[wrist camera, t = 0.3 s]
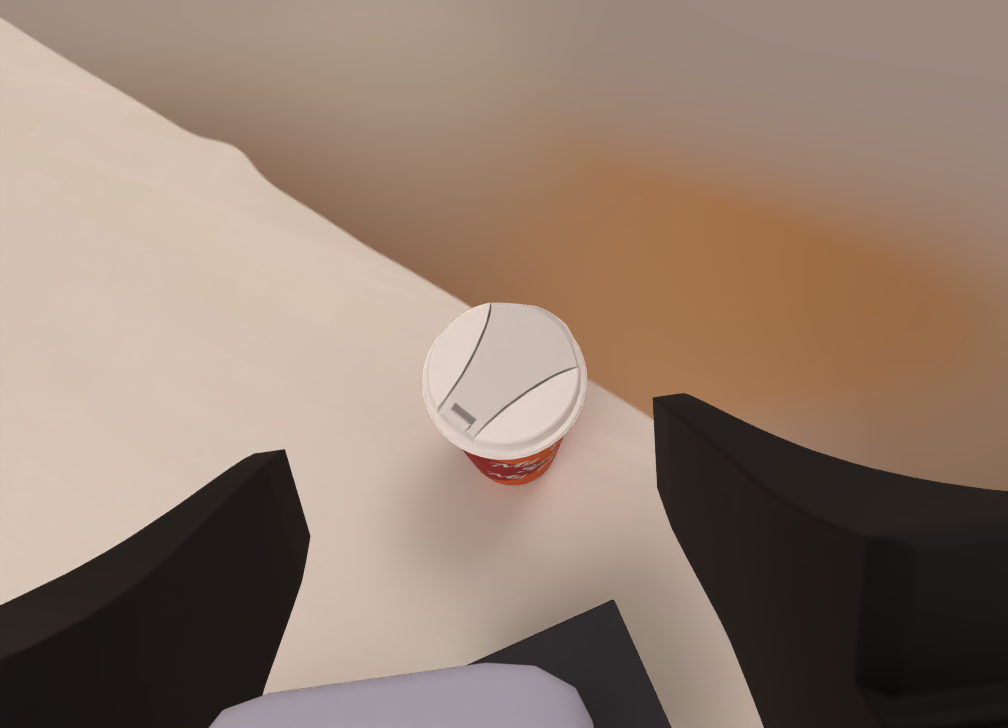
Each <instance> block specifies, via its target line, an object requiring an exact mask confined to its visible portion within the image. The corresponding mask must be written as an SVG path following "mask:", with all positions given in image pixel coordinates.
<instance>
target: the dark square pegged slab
mask: <svg viewBox="0 0 1008 728" xmlns="http://www.w3.org/2000/svg"><path fill="white" fill-rule="evenodd" d="M481 663H498V664H515V665H531V666H536V667H538V668H540V669H542V670H544V671H546V672H547V673H549V674H551V675H553V676H555V677H557V678H558V679H560V680H562V681H564V682H566V683H567V684H569V685H571V686H573V687H575V688H576V690H577V692H578V694H579V696H580V698H581V700H582V702H583V704H584V705H585V707H586V709H587V711H588V713H589V715H590V717H591V719H592V721H593V727H594V728H671V726H670V723H669V721H668V719H667V717H666V715H665V712H664V710H663V708H662V706H661V703H660V701H659V699H658V697H657V695H656V692H655V690H654V688H653V686H652V683H651V681H650V679H649V677H648V674H647V672H646V670H645V668H644V666H643V663H642V661H641V659H640V657H639V654H638V652H637V650H636V648H635V645H634V643H633V641H632V639H631V637H630V634H629V632H628V630H627V628H626V625H625V623H624V621H623V619H622V616H621V614H620V612H619V610H618V608H617V605H616V603H615V601H614V600H611V601H608V602H606V603H604V604H602V605H600V606H597V607H595V608H593V609H591V610H588V611H586V612H584V613H582V614H580V615H577V616H575V617H573V618H571V619H568V620H566V621H564V622H562V623H560V624H557V625H555V626H553V627H551V628H548V629H546V630H544V631H542V632H539V633H537V634H535V635H533V636H531V637H528V638H526V639H524V640H522V641H519V642H517V643H515V644H513V645H511V646H508V647H506V648H504V649H502V650H499V651H497V652H495V653H493V654H491V655H488V656H486V657H484V658H482V659H479V660H477V661H475V662H473V663H471V664H468V665H474V664H481ZM466 666H467V665H466Z"/></svg>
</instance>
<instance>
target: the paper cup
mask: <svg viewBox="0 0 1008 728" xmlns="http://www.w3.org/2000/svg"><path fill="white" fill-rule="evenodd" d="M586 389H587V370H586V365H585V361H584V357H583V355H582V352H581V350H580V347H579V345H578V344H577V342H576V340H575V339H574V337H573V336H572V334H571V332H570V330H569V328H568V327H567V325H566V324H565V323H564V322H563V321H561V320H560V319H559V318H558V317H557V316H555V315H553V314H552V313H550V312H548V311H547V310H544V309H542V308H540V307H537V306H533V305H523V304H514V303H486V304H483V305H480V306H477V307H474V308H472V309H470V310H468V311H466V312H464V313H462V314H461V315H459V316H458V317H456V318H455V319H454V320H453V321H452V322H451V323H450V324H449V325H447V326H446V328H445V329H444V330H443V331H442V332H441V333H440V335H439V336H438V337H437V338H436V340H435V341H434V343H433V345H432V346H431V348H430V350H429V352H428V355H427V358H426V360H425V364H424V369H423V374H422V390H423V397H424V401H425V404H426V408H427V411H428V413H429V415H430V417H431V419H432V421H433V422H434V424H435V425H436V426H437V428H438V429H439V430H440V432H441V433H442V434H443V435H444V436H445V437H446V438H447V439H448V440H449V441H451V442H452V443H453V444H455V445H456V446H458V447H459V448H461V449H462V450H463V451H464V452H465V453H466V455H467V456H468V457H469V458H470V459H471V461H472V462H473V463H474V464H475V465H476V467H477V468H478V469H479V470H480V471H481V472H482V473H483V474H484V475H486V476H487V477H488V478H490V479H492V480H493V481H496V482H498V483H501V484H506V485H521V484H525V483H528V482H531V481H533V480H535V479H536V478H538V477H539V476H541V475H542V474H543V473H544V472H545V471H546V470H547V469H548V467H549V466H550V464H551V463H552V461H553V459H554V457H555V455H556V453H557V451H558V448H559V446H560V444H561V441H562V439H563V436H564V434H565V433H566V432H567V431H568V430H569V429H570V428H571V426H572V425H573V423H574V422H575V420H576V419H577V417H578V415H579V413H580V411H581V409H582V406H583V403H584V399H585V396H586Z"/></svg>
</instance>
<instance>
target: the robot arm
mask: <svg viewBox="0 0 1008 728" xmlns="http://www.w3.org/2000/svg"><path fill="white" fill-rule="evenodd" d="M653 414H654V433H655V453H656V473H657V488H658V491H659V494H660V497H661V500H662V503H663V506H664V509H665V511H666V514H667V517H668V519H669V522H670V525H671V527H672V530H673V532H674V534H675V536H676V538H677V540H678V542H679V544H680V545H681V547H682V549H683V551H684V553H685V555H686V557H687V559H688V561H689V563H690V565H691V566H692V568H693V570H694V572H695V574H696V576H697V578H698V579H699V581H700V583H701V585H702V587H703V589H704V591H705V593H706V595H707V596H708V598H709V600H710V602H711V604H712V606H713V608H714V610H715V611H716V613H717V615H718V617H719V619H720V621H721V623H722V625H723V627H724V629H725V631H726V633H727V636H728V638H729V640H730V642H731V644H732V647H733V649H734V652H735V654H736V657H737V659H738V662H739V664H740V667H741V669H742V672H743V674H744V677H745V679H746V682H747V684H748V687H749V689H750V692H751V695H752V697H753V700H754V703H755V705H756V708H757V710H758V713H759V716H760V718H761V721H762V724H763V726H764V728H1008V491H1000V490H990V489H982V488H975V487H968V486H961V485H954V484H948V483H941V482H935V481H930V480H924V479H918V478H913V477H908V476H903V475H900V474H895V473H891V472H886V471H882V470H877V469H873V468H869V467H866V466H862V465H858V464H854V463H851V462H848V461H844V460H841V459H838V458H835V457H831V456H828V455H825V454H822V453H819V452H816V451H813V450H810V449H808V448H805V447H802V446H800V445H797V444H795V443H792V442H790V441H787V440H785V439H782V438H780V437H777V436H775V435H773V434H770V433H768V432H766V431H763V430H761V429H759V428H757V427H755V426H753V425H750V424H748V423H746V422H744V421H742V420H740V419H738V418H736V417H734V416H732V415H730V414H728V413H726V412H724V411H722V410H720V409H718V408H716V407H714V406H712V405H710V404H708V403H706V402H704V401H701V400H699V399H697V398H695V397H693V396H691V395H688V394H685V393H682V394H674V395H667V396H660V397H654V398H653ZM309 541H310V533H309V530H308V526H307V523H306V520H305V516H304V513H303V509H302V506H301V503H300V499H299V496H298V492H297V489H296V486H295V482H294V479H293V476H292V472H291V469H290V465H289V462H288V459H287V455H286V452H285V449H284V450H277V451H269V452H262V453H255V454H252V455H250V456H249V457H247V458H245V459H243V460H242V461H240V462H238V463H237V464H235V465H234V466H232V467H231V468H229V469H228V470H227V471H225V472H224V473H222V474H221V475H219V476H218V477H217V478H215V479H214V480H212V481H211V482H210V483H208V484H207V485H205V486H204V487H203V488H201V489H200V490H198V491H197V492H196V493H194V494H193V495H191V496H190V497H189V498H187V499H186V500H184V501H183V502H182V503H180V504H179V505H177V506H176V507H175V508H173V509H172V510H170V511H169V512H167V513H166V514H164V515H163V516H161V517H160V518H158V519H157V520H155V521H154V522H152V523H151V524H149V525H148V526H146V527H145V528H143V529H142V530H140V531H139V532H137V533H136V534H134V535H133V536H131V537H129V538H128V539H126V540H125V541H123V542H121V543H120V544H118V545H116V546H115V547H113V548H111V549H110V550H108V551H106V552H105V553H103V554H101V555H99V556H98V557H96V558H94V559H92V560H90V561H89V562H87V563H85V564H83V565H81V566H80V567H78V568H76V569H74V570H72V571H70V572H68V573H67V574H65V575H63V576H60V577H58V578H56V579H54V580H52V581H50V582H48V583H46V584H44V585H42V586H40V587H38V588H36V589H34V590H31V591H29V592H27V593H25V594H23V595H21V596H19V597H17V598H15V599H13V600H11V601H9V602H6V603H4V604H2V605H0V728H594V727H593V721H592V719H591V717H590V715H589V713H588V711H587V709H586V707H585V705H584V704H583V702H582V700H581V698H580V696H579V694H578V692H577V690H576V688H575V687H573V686H571V685H569V684H567V683H566V682H564V681H562V680H560V679H558V678H557V677H555V676H553V675H551V674H549V673H547V672H546V671H544V670H542V669H540V668H538V667H536V666H531V665H515V664H498V663H481V664H474V665H467V666H460V667H453V668H445V669H438V670H431V671H424V672H417V673H410V674H402V675H395V676H388V677H381V678H374V679H367V680H359V681H352V682H345V683H338V684H331V685H324V686H316V687H309V688H302V689H295V690H288V691H281V692H274V693H269V694H266V695H263V696H262V694H263V691H264V688H265V685H266V682H267V679H268V676H269V673H270V671H271V668H272V665H273V662H274V659H275V657H276V654H277V651H278V648H279V645H280V643H281V640H282V637H283V634H284V631H285V629H286V626H287V623H288V620H289V617H290V615H291V612H292V609H293V606H294V603H295V600H296V597H297V594H298V591H299V588H300V585H301V582H302V578H303V574H304V569H305V564H306V559H307V553H308V547H309Z"/></svg>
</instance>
